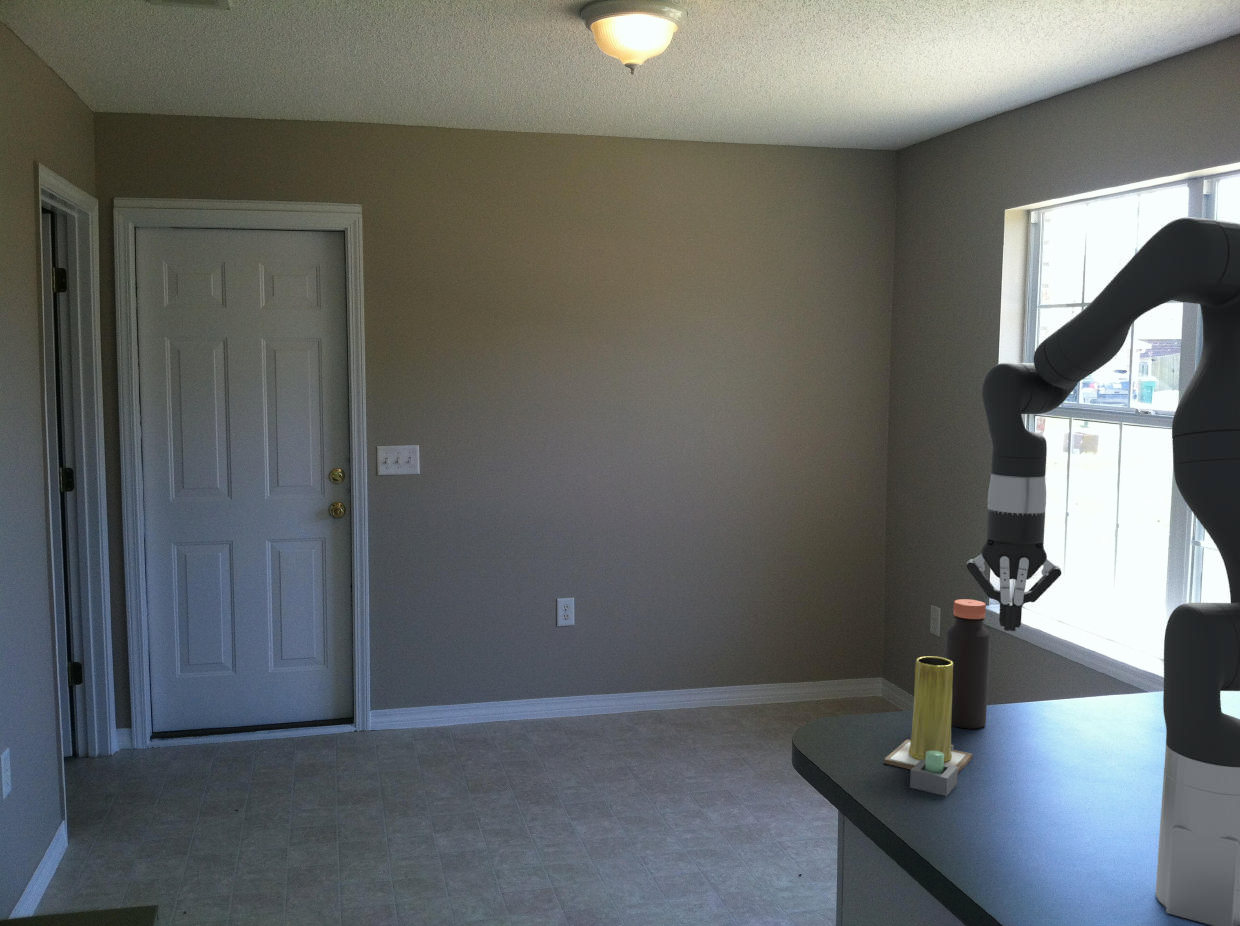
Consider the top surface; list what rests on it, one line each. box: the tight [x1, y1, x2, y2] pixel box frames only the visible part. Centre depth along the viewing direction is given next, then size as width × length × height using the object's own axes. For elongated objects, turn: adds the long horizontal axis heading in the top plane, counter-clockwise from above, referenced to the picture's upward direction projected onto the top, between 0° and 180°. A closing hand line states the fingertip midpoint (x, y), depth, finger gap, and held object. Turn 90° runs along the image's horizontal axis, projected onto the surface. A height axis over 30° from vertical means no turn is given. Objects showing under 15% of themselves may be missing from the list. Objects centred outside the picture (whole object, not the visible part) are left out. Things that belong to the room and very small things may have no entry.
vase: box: [909, 655, 953, 762], centre depth 153 cm, size 6×6×14 cm
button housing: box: [909, 759, 959, 797], centre depth 144 cm, size 5×5×2 cm
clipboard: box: [883, 739, 974, 774], centre depth 154 cm, size 10×10×1 cm
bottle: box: [944, 598, 991, 730], centre depth 170 cm, size 7×7×20 cm
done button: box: [925, 750, 944, 774], centre depth 144 cm, size 2×2×3 cm
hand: (1009, 629), depth 146 cm, fingers closed
